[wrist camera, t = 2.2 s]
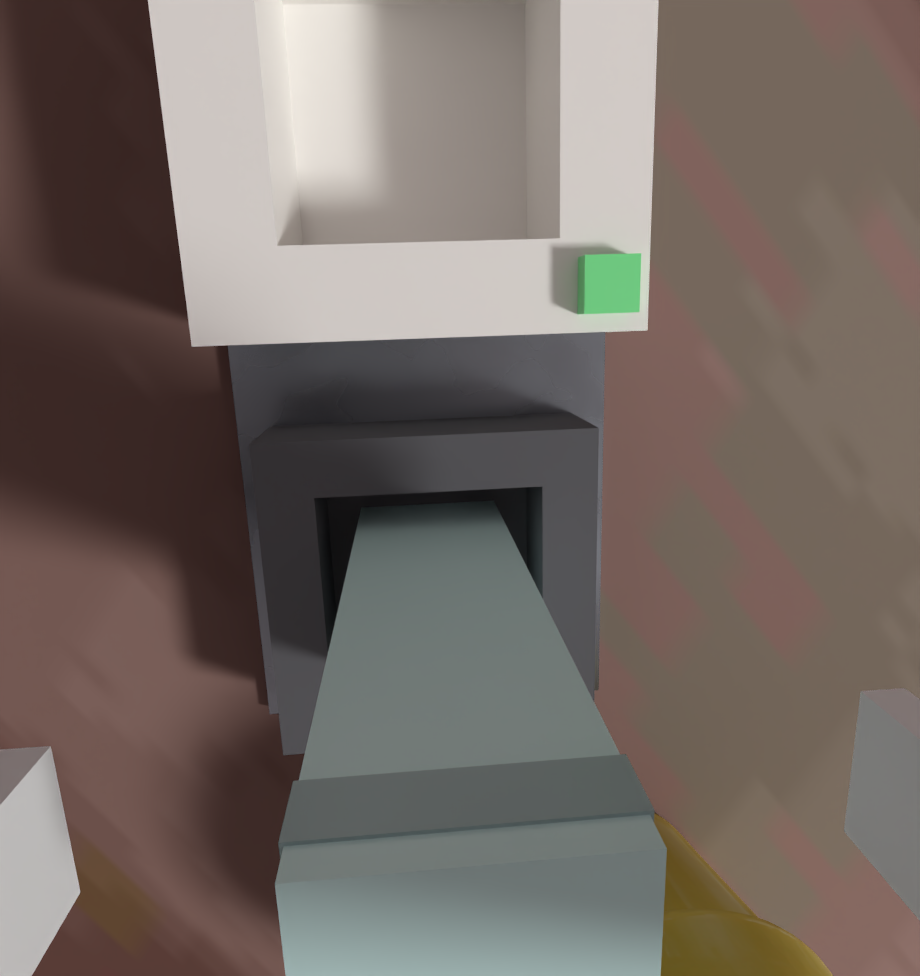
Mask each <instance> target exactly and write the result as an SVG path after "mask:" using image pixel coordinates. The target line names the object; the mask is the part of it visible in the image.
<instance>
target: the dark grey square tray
mask: <svg viewBox="0 0 920 976" xmlns="http://www.w3.org/2000/svg"><path fill="white" fill-rule="evenodd" d="M598 447H599V428H598V427H596V426H594V425H593V424H591V423H589V422H587V421H585V420H583V419H582V418H580V417H578V416H576V415H574V414H573V413H556V414H534V415H511V416H489V417H466V418H443V419H421V420H398V421H375V422H353V423H330V424H307V425H285V426H271V427H270V428H268V429H267V430H266V431H265V432H263V433H262V434H261V435H260V436H258V437H257V438H256V439H255V440H253V441H252V442H251V443H250V444H249V449H250V458H251V467H252V477H253V486H254V495H255V504H256V513H257V522H258V531H259V540H260V549H261V558H262V567H263V576H264V585H265V594H266V603H267V612H268V621H269V631H270V640H271V649H272V658H273V667H274V676H275V685H276V694H277V703H278V712H279V721H280V730H281V739H282V748H283V755H293V754H305V751H306V746H307V742H308V737H309V733H310V729H311V724H312V720H313V716H314V711H315V707H316V703H317V698H318V694H319V690H320V685H321V681H322V677H323V672H324V668H325V664H326V659H327V655H328V651H329V646H330V642H331V637H332V633H333V629H334V624H335V620H336V616H337V611H338V607H339V603H340V598H341V594H342V590H343V585H344V581H345V577H346V572H347V568H348V564H349V559H350V555H351V550H352V546H353V542H354V537H355V533H356V529H357V524H358V520H359V516H360V511H361V508H362V507H381V506H400V505H419V504H438V503H457V502H475V501H494V502H495V504H496V506H497V508H498V510H499V512H500V514H501V516H502V518H503V520H504V522H505V524H506V526H507V528H508V530H509V532H510V534H511V536H512V538H513V540H514V542H515V544H516V546H517V548H518V550H519V552H520V554H521V556H522V558H523V560H524V562H525V564H526V566H527V568H528V570H529V572H530V574H531V576H532V578H533V580H534V582H535V584H536V586H537V588H538V590H539V592H540V594H541V596H542V599H543V601H544V603H545V605H546V607H547V609H548V611H549V613H550V615H551V617H552V619H553V621H554V623H555V625H556V627H557V629H558V631H559V633H560V635H561V637H562V639H563V641H564V643H565V645H566V647H567V649H568V651H569V653H570V655H571V657H572V659H573V661H574V663H575V665H576V667H577V669H578V671H579V673H580V675H581V677H582V679H583V681H584V683H585V685H586V687H587V689H588V691H589V693H590V695H591V697H592V699H593V701H594V681H595V622H596V564H597V506H598Z"/></svg>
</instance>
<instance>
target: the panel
mask: <svg viewBox="0 0 920 976" xmlns="http://www.w3.org/2000/svg"><path fill="white" fill-rule="evenodd" d="M228 353H229V362H230V370H231V379H232V388H233V397H234V405H235V414H236V423H237V432H238V441H239V449H240V458H241V467H242V476H243V484H244V493H245V502H246V511H247V519H248V528H249V537H250V546H251V555H252V563H253V572H254V581H255V590H256V598H257V607H258V616H259V625H260V633H261V642H262V651H263V660H264V669H265V677H266V686H267V695H268V704H269V712H270V714H278V713H279V712H278V703H277V694H276V685H275V676H274V667H273V658H272V649H271V640H270V631H269V621H268V612H267V603H266V594H265V585H264V576H263V567H262V558H261V549H260V540H259V531H258V522H257V513H256V504H255V495H254V486H253V477H252V467H251V458H250V449H249V444H250V443H251V442H252V441H253V440H255V439H256V438H257V437H258V436H260V435H261V434H262V433H263V432H265V431H266V430H267V429H268V428H270V427H271V426H285V425H307V424H330V423H353V422H375V421H398V420H421V419H443V418H466V417H489V416H511V415H534V414H556V413H573V414H574V415H576V416H578V417H580V418H582V419H583V420H585V421H587V422H589V423H591V424H593V425H594V426H596V427H598V428H599V447H598V506H597V564H596V622H595V681H594V690H598V685H599V631H600V578H601V525H602V471H603V418H604V365H605V332H588V333H560V334H532V335H504V336H477V337H449V338H421V339H393V340H365V341H337V342H309V343H281V344H253V345H228Z"/></svg>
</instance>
